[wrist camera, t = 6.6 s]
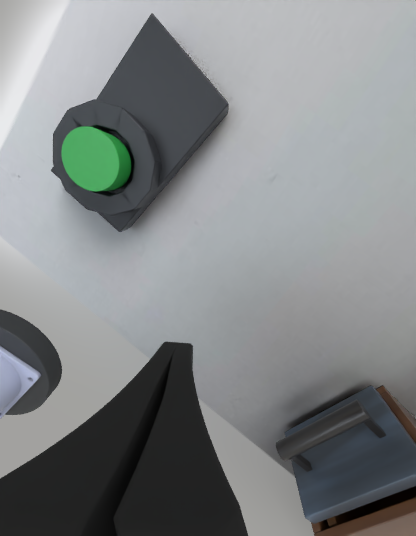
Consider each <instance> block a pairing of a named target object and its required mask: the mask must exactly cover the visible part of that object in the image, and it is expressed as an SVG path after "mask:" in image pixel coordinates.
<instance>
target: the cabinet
mask: <svg viewBox="0 0 416 536" xmlns="http://www.w3.org/2000/svg"><path fill="white" fill-rule="evenodd" d="M376 390H377V391H378V392H379V394H380V395H381V396H382V398H383V399H384V401H385V402H386V403H387V405H388V406H389V407H390V409H391V410H392V412H393V413H394V414H395V416H396V417H397V418H398V420H399V421H400V423H401V424H402V425H403V427H404V428H405V429H406V431H407V432H408V434H409V435H410V436H411V438H412V439H413V440H414V442H415V443H416V419H415V418H414V417H413V416H412V415H411V414H410V413H409V412H408V411H407V410H406V409H405V408H404V407H403V406H402V405H401V404H400V403H399V402H398V401H397V400H396V399H395V398H394V397H393V396H392V395H391V394H390V393H389V392H388V391H387V390H386V389H385V388H384V387H383V386H381V387H379V388H377V389H376ZM311 524H312V528H313V532H314V533H315V534H314V536H416V497H415V498H412V499H409V500H406V501H403V502H401V503H398V504H395V505H392V506H390V507H387V508H384V509H381V510H379V511H376V512H373V513H370V514H367V515H365V516H362V517H359V518H356V519H354V520H351V521H348V522H345V523H342V524H340V525H337V526H334V527H329V525H328V522H327V519H326V520H323V521H321V522H318V523H315V524H313V523H312V522H311Z"/></svg>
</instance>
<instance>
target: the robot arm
mask: <svg viewBox="0 0 416 536" xmlns="http://www.w3.org/2000/svg"><path fill="white" fill-rule="evenodd" d="M192 363H193V346H192V345H191V344H189V343H176V342H164V343H163V344H162V346H161V347H160V348H159V349H158V351H157V352H156V353H155V354H154V356H153V357H152V358H151V359H150V360H149V362H148V363H147V364H146V365H145V366H144V367H143V368H142V370H141V371H140V372H139V373H138V374H137V375H136V376H135V377H134V378H133V379H132V380H131V381H130V382H129V383H128V384H127V385H126V387H125V388H123V389H122V390H121V391H120V393H118V394H117V395H116V396H115V397H114V398H113V399H112V400H111V401H110V402H109V403H107V404H106V405H105V406H104V407H103V408H102V409H100V410H99V411H98V412H97V413H96V414H95V415H93V416H92V417H91V418H89V419H88V420H87V421H86V422H84V423H83V424H82V425H81V426H79V427H78V428H77V429H75V430H74V431H73V432H71V433H70V434H69V435H67V436H65V437H64V438H63V439H62V440H60V441H58V442H57V443H56V444H54V445H53V446H51V447H50V448H48V449H47V450H45V451H44V452H43V453H41V454H40V455H38V456H36V457H35V458H33V459H32V460H30V461H28V462H27V463H25V464H24V465H22V466H20V467H19V468H17V469H15V470H14V471H12V472H10V473H9V474H7V475H6V476H4V477H2V478H1V479H0V536H248V533H247V530H246V526H245V523H244V520H243V516H242V513H241V509H240V506H239V503H238V501H237V499H236V497H235V495H234V493H233V491H232V489H231V487H230V485H229V482H228V480H227V478H226V476H225V473H224V471H223V469H222V467H221V464H220V462H219V460H218V457H217V454H216V452H215V450H214V447H213V444H212V441H211V439H210V436H209V434H208V431H207V428H206V425H205V422H204V419H203V415H202V412H201V409H200V406H199V401H198V397H197V393H196V388H195V383H194V377H193V371H192ZM40 376H41V374H40V372H38V371H37V370H35V369H34V368H33V367H31V366H30V365H28V364H27V363H25V362H24V361H22V360H21V359H19V358H18V357H16V356H15V355H13V354H12V353H10V352H9V351H7V350H6V349H4V348H3V347H1V346H0V419H1V418H2V417H3V416H4V415H5V414H6V413H7V411H8V410H9V409H10V408H11V407H12V406H13V405H14V404H15V403H16V402H17V401H18V400H19V399H20V398H21V397H22V396H23V395H24V394H25V393H26V392H27V390H28V389H29V388H30V387H31V386H32V385H33V384H34V383H35V382H36V381H37V380H38V379H39V378H40Z"/></svg>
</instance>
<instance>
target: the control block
mask: <svg viewBox="0 0 416 536" xmlns="http://www.w3.org/2000/svg"><path fill="white" fill-rule="evenodd" d="M227 113H228V102H227V101H226V100H225V99H224V98H223V96H222V95H221V94H220V93H219V92H218V90H217V89H216V88H215V87H214V86H213V84H212V83H211V82H210V81H209V80H208V79H207V77H206V76H205V75H204V74H203V73H202V71H201V70H200V69H199V68H198V67H197V65H196V64H195V63H194V62H193V61H192V60H191V58H190V57H189V56H188V55H187V54H186V52H185V51H184V50H183V49H182V48H181V47H180V45H179V44H178V43H177V42H176V41H175V39H174V38H173V37H172V36H171V35H170V33H169V32H168V31H167V30H166V29H165V28H164V26H163V25H162V24H161V23H160V22H159V20H158V19H157V18H156V17H155V16H154V14H151V15H150V17H149V18H148V20H147V21H146V23H145V24H144V26H143V27H142V29H141V31H140V32H139V34H138V35H137V37H136V38H135V40H134V42H133V43H132V45H131V46H130V48H129V49H128V51H127V52H126V54H125V56H124V57H123V59H122V60H121V62H120V63H119V65H118V67H117V68H116V70H115V71H114V73H113V74H112V76H111V78H110V79H109V81H108V82H107V84H106V85H105V87H104V88H103V90H102V92H101V93H100V95H99V96H98V98H97V99H96V100H95V99H94V100H91V101H89V102H86V103H83V104H81V105H78V106H76V107H73V108H70V109H69V110H67V112H66V113H65V115H64V117H63V118H62V120H61V121H60V123H59V125H58V126H57V128H56V130H55V131H54V134H53V164H54V167H53V168H52V170H51V171H52V172H53V173H54V174H55V175H56V176H57V177H58V178H60V180H61V182H62V184H63V186H64V188H65V190H66V191H67V192H68V193H69V194H70V195H71V196H73V197H74V198H75V199H76V200H77V201H78V202H79V203H81V204H82V205H83V206H84V207H85V208H86V209H88V210H92V211H95V212H98V213H99V214H100V215H101V216H102V217H103V218H104V219H105V220H107V221H108V222H109V223H110V224H111V225H112V226H113V227H114V228H115V229H117V230H118V231H119V232H122V231H124V230H126V229H128V228H130V227H131V226H132V225H133V223H134V222H135V221H136V220H137V219H138V218H139V216H140V215H141V214H142V213H143V212H144V211H145V209H146V208H147V207H148V206H149V205H150V204H151V202H152V201H153V200H154V199H155V198H156V197H157V195H158V194H159V193H160V192H161V191H162V189H163V188H164V187H165V186H166V185H167V184H168V182H169V181H170V180H171V179H172V178H173V177H174V175H175V174H176V173H177V172H178V171H179V170H180V168H181V167H182V166H183V165H184V164H185V163H186V161H187V160H188V159H189V158H190V157H191V156H192V154H193V153H194V152H195V151H196V150H197V149H198V147H199V146H200V145H201V144H202V143H203V141H204V140H205V139H206V138H207V137H208V136H209V134H210V133H211V132H212V131H213V130H214V129H215V127H216V126H217V125H218V124H219V123H220V122H221V120H222V119H223V118H224V117H225V116H226V115H227ZM83 126H89V127H93V128H96V129H99V130H101V131H104V132H106V133H108V134H111V135H113V136H115V137H116V138H118V139H119V140H120V141H121V142H122V143H123V144H124V146H125V147H126V149H127V150H128V153H129V155H130V159H131V173H130V176H129V179H128V180H127V182H126V183H125V184H124V185H123V186H122V187H120V188H119V189H116V190H109V191H97V192H95V191H89V190H86V189H84V188H82V187H80V186H78V185H77V184H76V183H75V182H74V181H73V180H72V179H71V178H70V177H69V175H68V174H67V172H66V170H65V168H64V165H63V161H62V145H63V142H64V140H65V138H66V136H67V135H68V134H69V133H70V132H71V131H72V130H74V129H76V128H78V127H83Z"/></svg>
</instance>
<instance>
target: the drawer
mask: <svg viewBox="0 0 416 536" xmlns="http://www.w3.org/2000/svg"><path fill="white" fill-rule="evenodd" d="M285 436H286V437H285V438H284V439H282V440H280V441H278V442H277V443H276V448H277V451H278V454H279V456H280V457H281V458H282V460H284V461H287V460H289V459H291V461H292V465H293V469H294V474H295V478H296V482H297V486H298V490H299V495H300V499H301V503H302V507H303V511H304V515H305V518H306V519H308V520H309V521H310V522H312V523H313V524H315V523H318V522H321V521H323V520H326V519H327V522H328V525H329V527H334V526H337V525H340V524H342V523H345V522H348V521H351V520H354V519H356V518H359V517H362V516H365V515H367V514H370V513H373V512H376V511H379V510H381V509H384V508H387V507H390V506H392V505H395V504H398V503H401V502H403V501H406V500H409V499H412V498H415V497H416V443H415V442H414V440H413V439H412V438H411V436H410V435H409V434H408V432H407V431H406V429H405V428H404V427H403V425H402V424H401V423H400V421H399V420H398V418H397V417H396V416H395V414H394V413H393V412H392V410H391V409H390V407H389V406H388V405H387V403H386V402H385V401H384V399H383V398H382V396H381V395H380V394H379V392H378V391H377V390H376V389H375V388H374V387H373V386H369V387H367V388H365V389H363V390H362V391H360V392H358V393H356V394H354V395H352V396H351V397H349V398H347V399H345V400H343V401H341V402H340V403H338V404H336V405H334V406H332V407H330V408H328V409H327V410H325V411H323V412H321V413H319V414H317V415H316V416H314V417H312V418H310V419H308V420H306V421H305V422H303V423H301V424H299V425H297V426H295V427H293V428H292V429H290V430H288V431H286V432H285Z"/></svg>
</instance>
